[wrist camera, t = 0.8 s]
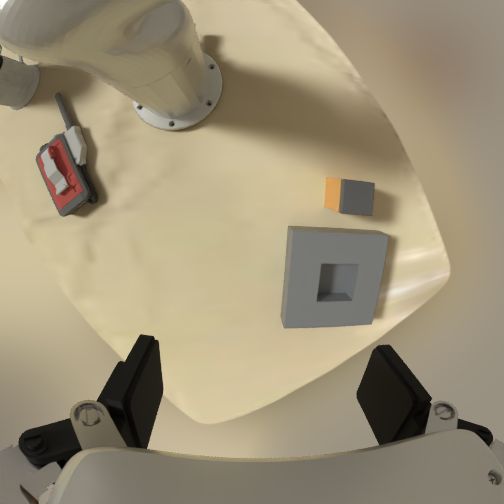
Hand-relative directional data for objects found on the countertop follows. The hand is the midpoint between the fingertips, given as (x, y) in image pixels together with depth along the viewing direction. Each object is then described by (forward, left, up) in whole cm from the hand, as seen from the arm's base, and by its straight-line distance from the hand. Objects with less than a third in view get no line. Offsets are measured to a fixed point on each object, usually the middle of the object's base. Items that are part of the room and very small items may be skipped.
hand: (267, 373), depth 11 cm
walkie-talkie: (-12, -28, -29) cm, 42 cm away
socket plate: (+6, +13, -29) cm, 32 cm away
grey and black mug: (-29, -40, -29) cm, 57 cm away
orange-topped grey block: (-6, +13, -29) cm, 32 cm away
